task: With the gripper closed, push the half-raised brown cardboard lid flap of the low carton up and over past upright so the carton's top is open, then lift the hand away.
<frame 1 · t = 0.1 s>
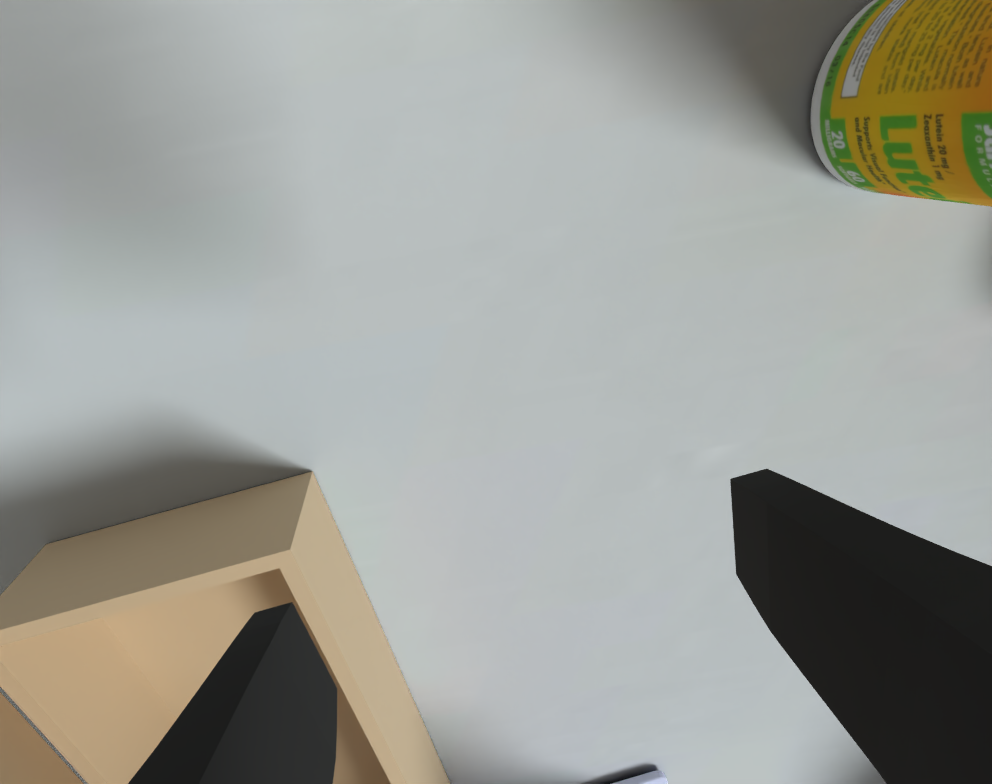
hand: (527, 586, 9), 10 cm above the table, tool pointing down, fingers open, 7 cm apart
carton: (284, 686, 23), on the table
supplement bottle: (885, 94, 17), on the table
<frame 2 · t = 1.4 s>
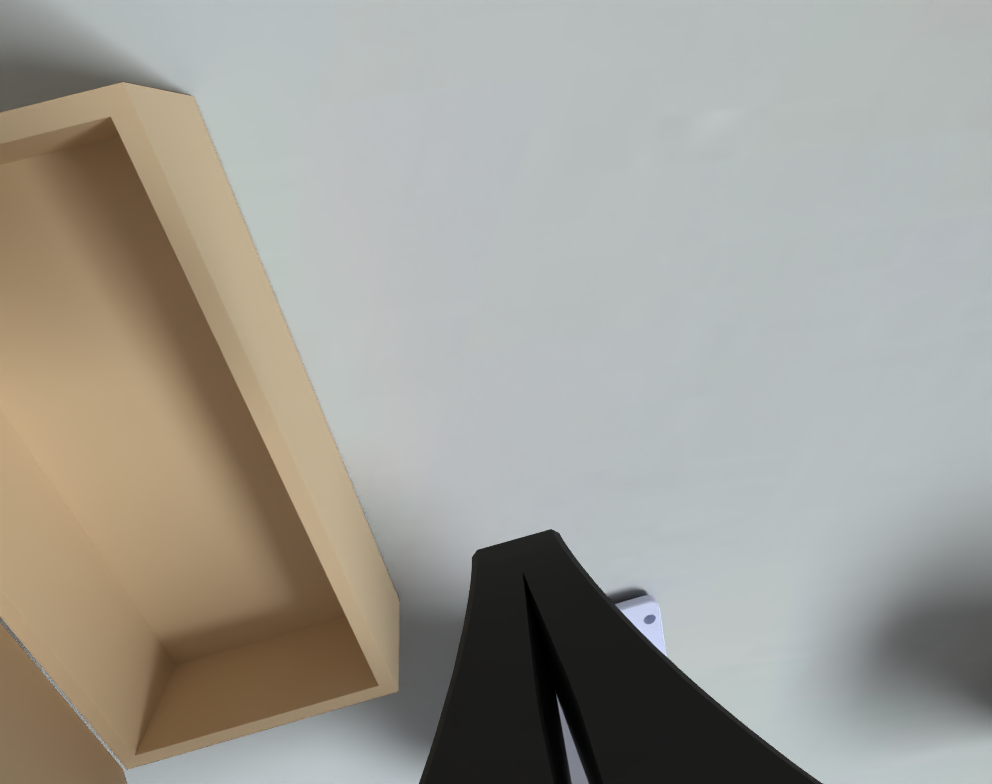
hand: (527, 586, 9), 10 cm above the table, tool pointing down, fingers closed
carton: (181, 437, 18), on the table
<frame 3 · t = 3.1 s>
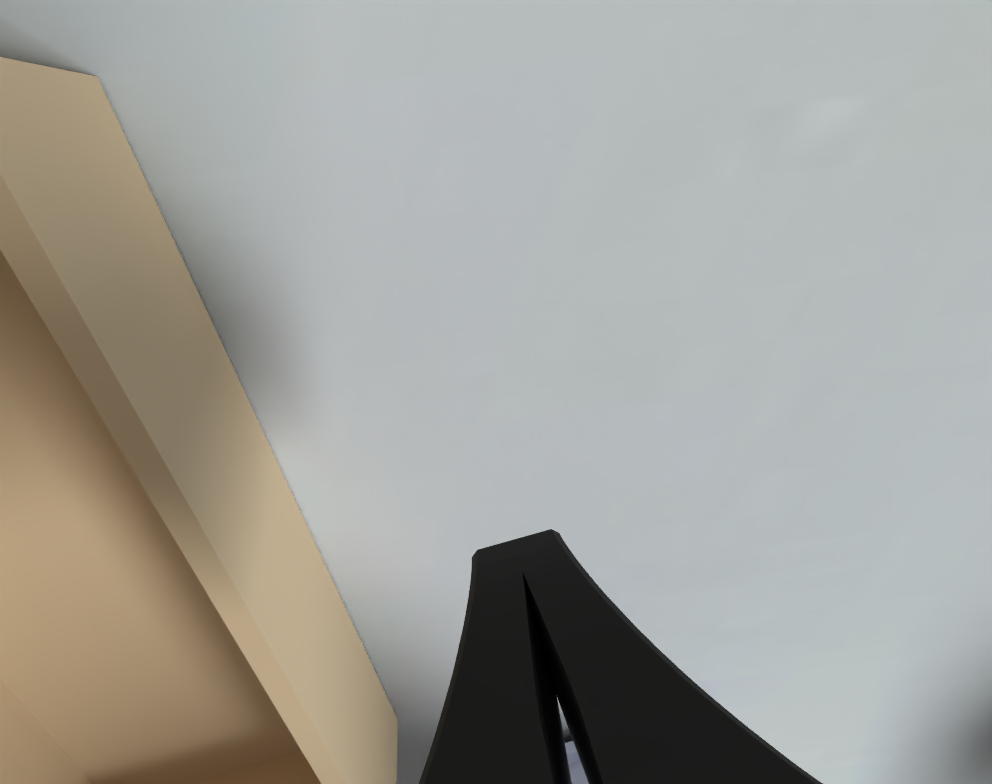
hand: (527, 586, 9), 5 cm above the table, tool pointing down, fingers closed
carton: (107, 535, 14), on the table
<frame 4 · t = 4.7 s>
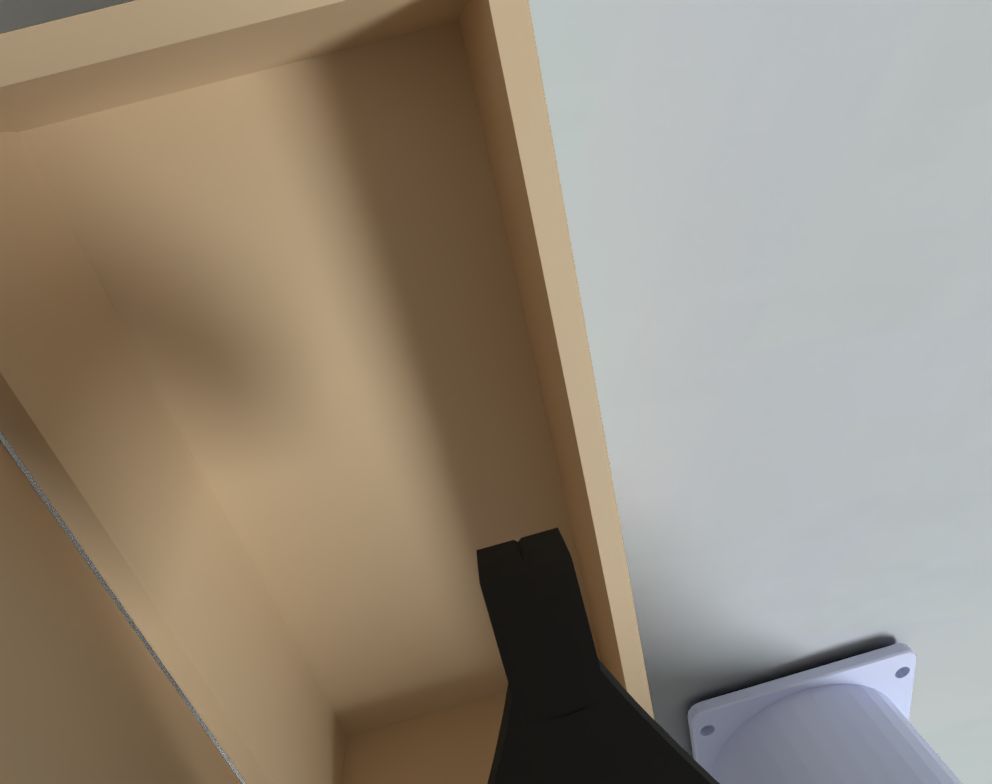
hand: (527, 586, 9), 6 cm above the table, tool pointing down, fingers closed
carton: (389, 458, 14), on the table
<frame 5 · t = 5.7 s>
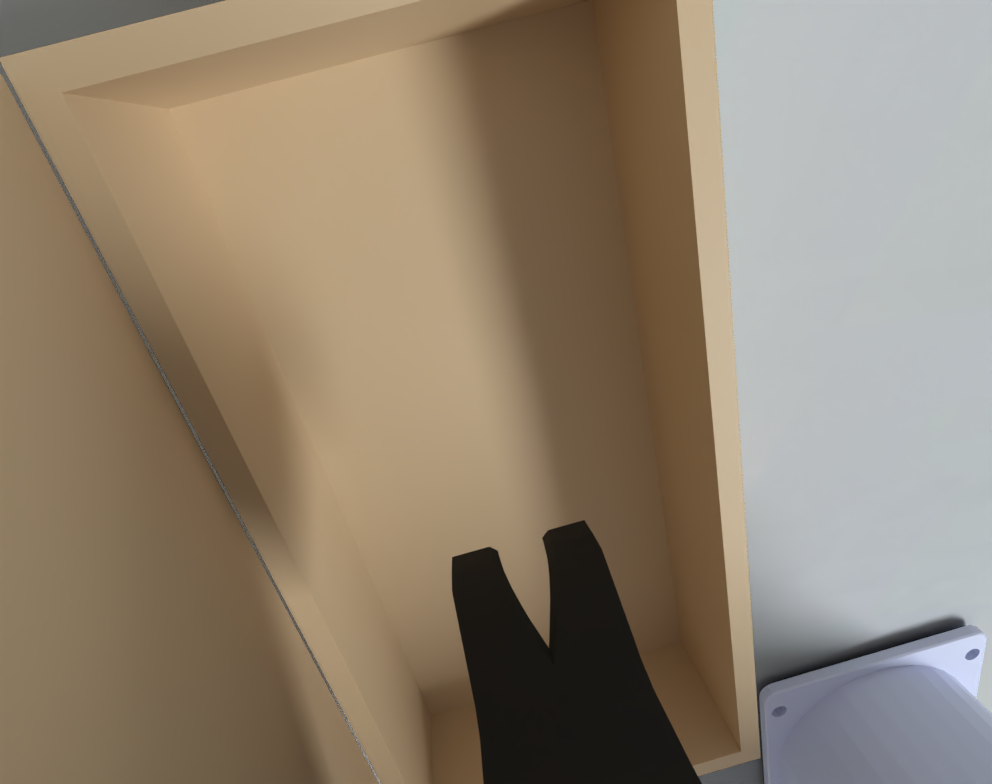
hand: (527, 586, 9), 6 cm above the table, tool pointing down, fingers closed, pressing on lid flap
carton: (489, 435, 14), on the table
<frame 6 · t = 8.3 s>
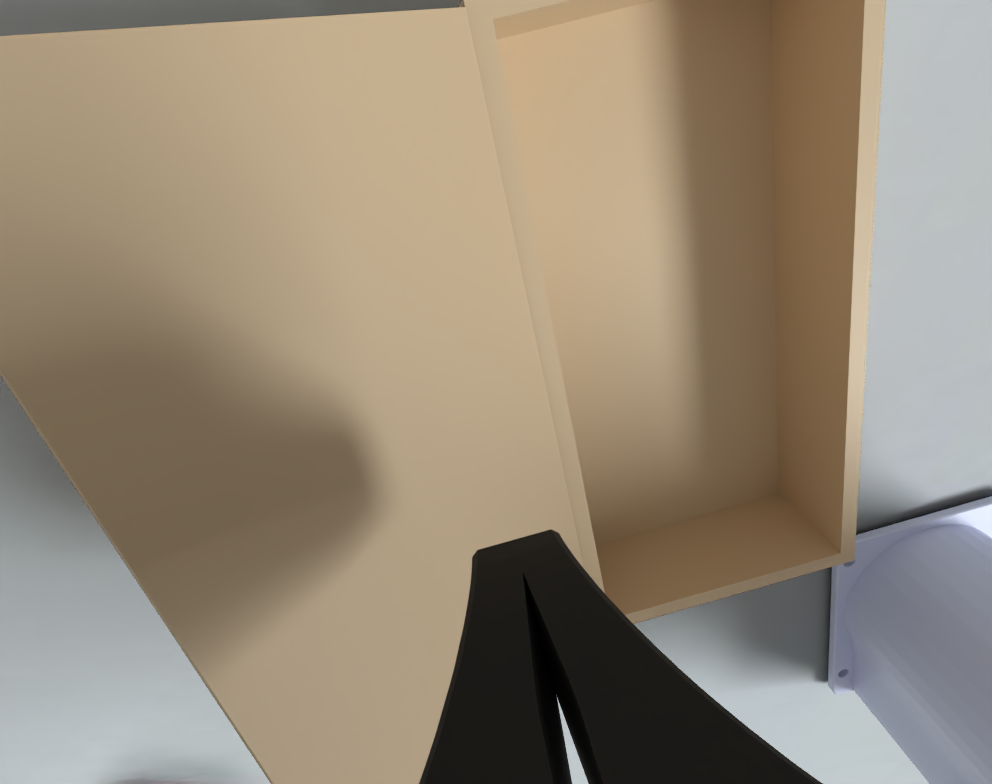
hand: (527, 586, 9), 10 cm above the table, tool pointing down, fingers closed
carton: (651, 310, 19), on the table
lid flap: (408, 498, 12), point 7 cm above the table, hinge at 139.0°
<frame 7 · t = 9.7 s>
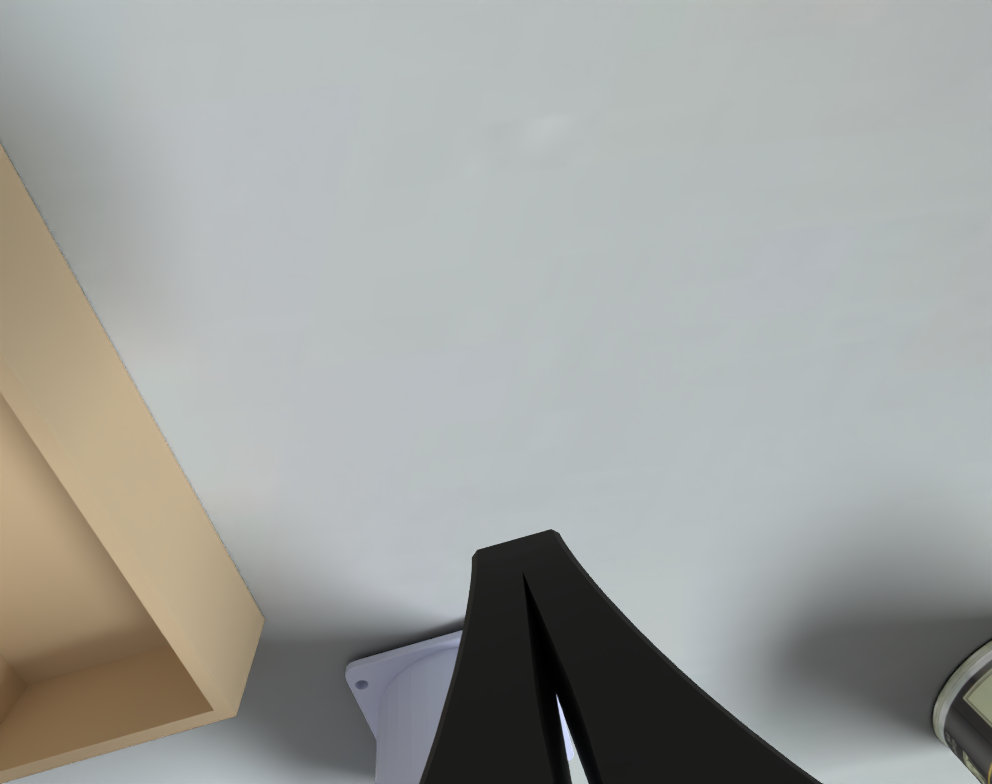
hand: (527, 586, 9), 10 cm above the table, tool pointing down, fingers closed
carton: (9, 454, 18), on the table
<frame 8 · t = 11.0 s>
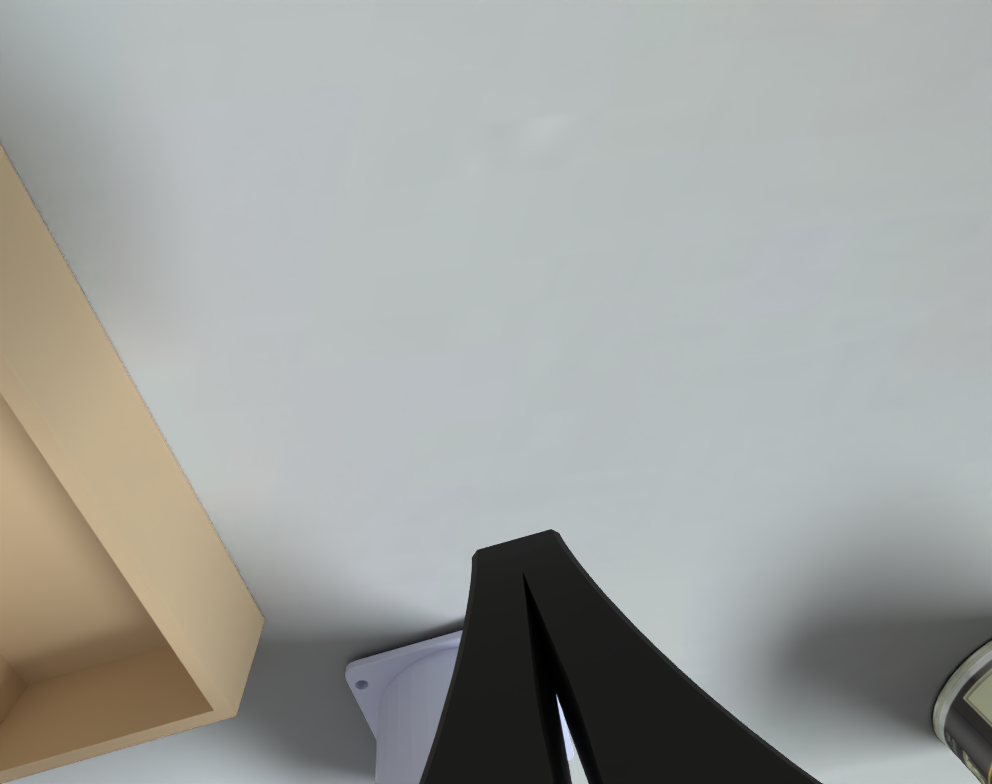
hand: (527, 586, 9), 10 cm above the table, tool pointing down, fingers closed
carton: (9, 454, 18), on the table
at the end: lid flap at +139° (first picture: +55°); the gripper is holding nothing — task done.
